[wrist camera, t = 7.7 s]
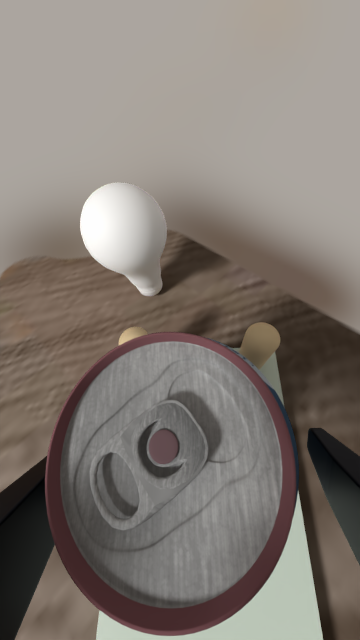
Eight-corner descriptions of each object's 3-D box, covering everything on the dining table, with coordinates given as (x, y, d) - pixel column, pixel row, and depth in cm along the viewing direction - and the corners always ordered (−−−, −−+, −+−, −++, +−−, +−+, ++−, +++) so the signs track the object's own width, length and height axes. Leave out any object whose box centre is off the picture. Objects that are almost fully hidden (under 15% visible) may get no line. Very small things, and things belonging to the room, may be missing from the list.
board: (325, 696, 11) (439, 977, 5) (101, 654, 13) (13, 835, 7) (270, 351, 19) (294, 321, 13) (136, 353, 20) (106, 327, 15)
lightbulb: (172, 260, 25) (143, 151, 15) (188, 304, 22) (167, 206, 12) (120, 277, 25) (58, 180, 15) (131, 323, 22) (62, 241, 12)
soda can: (205, 363, 18) (190, 272, 7) (269, 443, 15) (418, 498, 4) (134, 419, 17) (-12, 412, 6) (188, 516, 14) (94, 853, 3)
